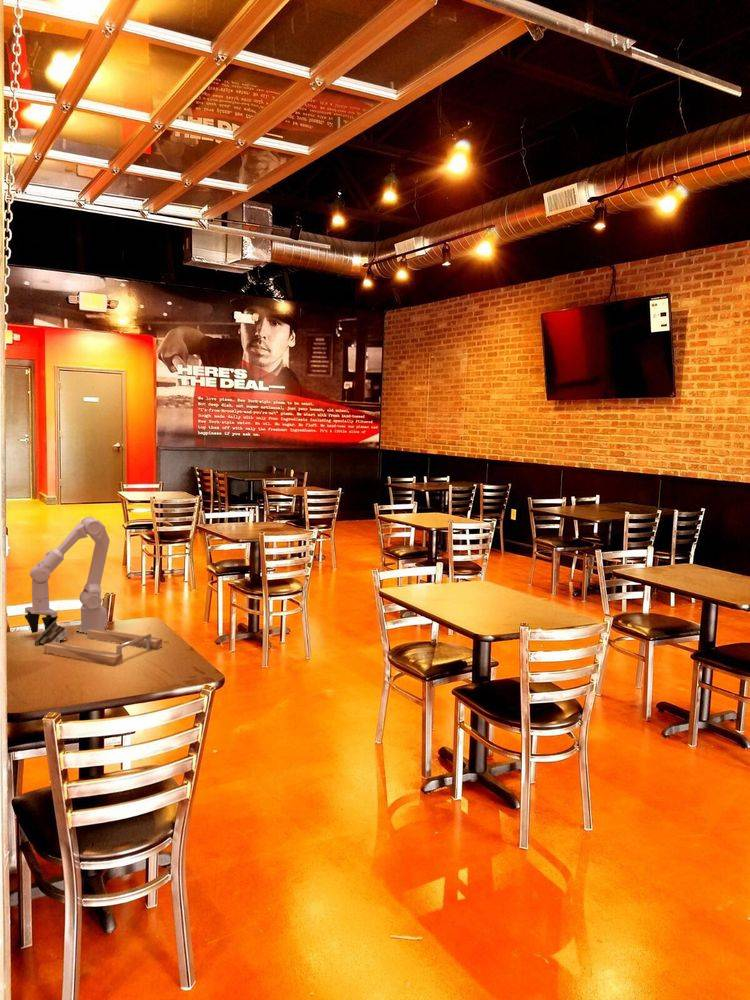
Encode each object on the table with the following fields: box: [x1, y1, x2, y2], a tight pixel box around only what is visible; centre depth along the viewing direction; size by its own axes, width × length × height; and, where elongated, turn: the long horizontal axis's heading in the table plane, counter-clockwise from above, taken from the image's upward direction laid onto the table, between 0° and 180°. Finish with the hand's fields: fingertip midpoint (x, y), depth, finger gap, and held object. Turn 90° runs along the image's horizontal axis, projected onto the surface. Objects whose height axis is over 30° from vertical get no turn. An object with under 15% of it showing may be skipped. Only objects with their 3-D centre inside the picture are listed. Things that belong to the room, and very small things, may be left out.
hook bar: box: [115, 633, 152, 655], centre depth 258 cm, size 16×1×6 cm, turn 156°
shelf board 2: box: [86, 628, 163, 651], centre depth 273 cm, size 4×32×3 cm, turn 66°
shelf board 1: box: [43, 642, 124, 667], centre depth 255 cm, size 4×32×3 cm, turn 66°
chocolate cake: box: [34, 619, 68, 645], centre depth 274 cm, size 10×7×12 cm
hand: (41, 633), depth 278 cm, fingers open, 7 cm apart
